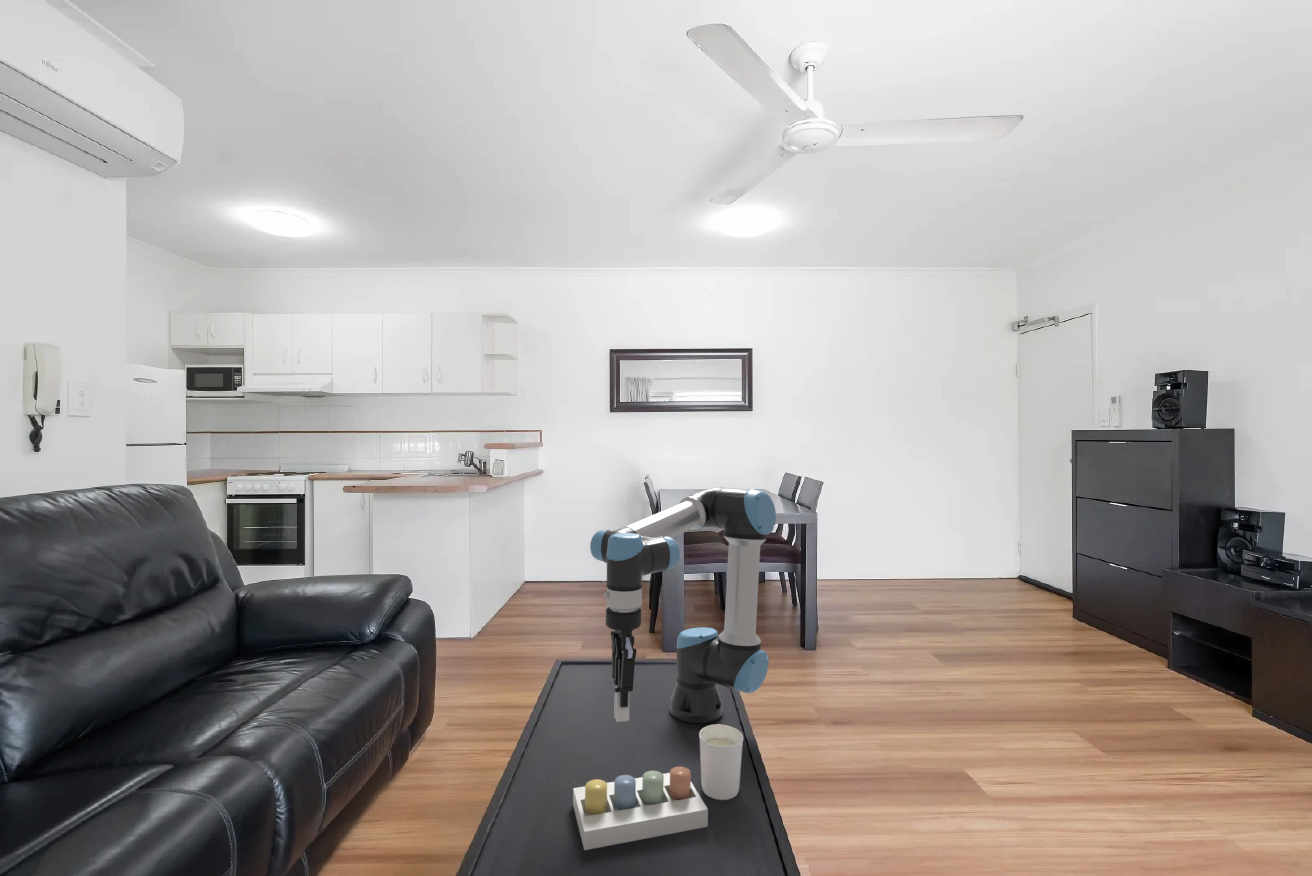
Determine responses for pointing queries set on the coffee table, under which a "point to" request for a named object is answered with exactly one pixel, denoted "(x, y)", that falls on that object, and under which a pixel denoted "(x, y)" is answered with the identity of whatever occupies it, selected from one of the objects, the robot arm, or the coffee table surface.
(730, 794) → the candle holder
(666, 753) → the coffee table surface
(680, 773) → the orange rounded piece
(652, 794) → the pale green rounded piece
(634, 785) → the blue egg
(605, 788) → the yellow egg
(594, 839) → the white slotted tray
